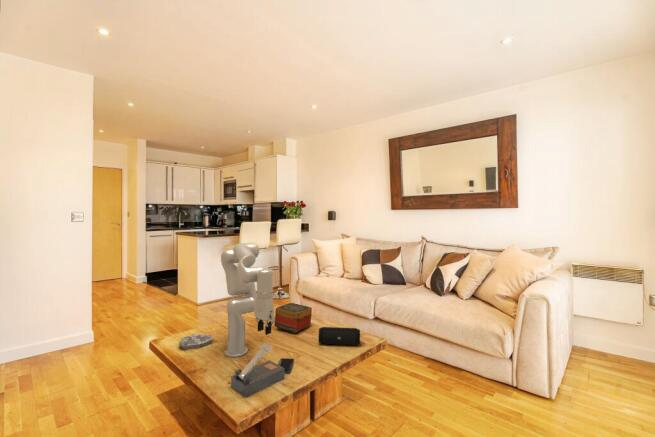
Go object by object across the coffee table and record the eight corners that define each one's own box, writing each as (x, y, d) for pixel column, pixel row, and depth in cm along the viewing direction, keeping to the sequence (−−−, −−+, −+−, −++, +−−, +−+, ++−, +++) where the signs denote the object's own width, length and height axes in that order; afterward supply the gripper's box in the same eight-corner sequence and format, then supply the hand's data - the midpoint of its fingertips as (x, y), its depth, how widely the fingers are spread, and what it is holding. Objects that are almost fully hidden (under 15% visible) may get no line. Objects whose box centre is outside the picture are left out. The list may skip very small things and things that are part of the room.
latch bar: (244, 381, 137) (242, 378, 137) (238, 377, 141) (236, 374, 140) (272, 347, 149) (270, 344, 148) (265, 344, 152) (264, 341, 151)
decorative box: (271, 330, 214) (271, 308, 212) (292, 319, 232) (292, 298, 230) (294, 339, 203) (294, 315, 201) (314, 326, 221) (314, 304, 219)
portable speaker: (318, 346, 188) (318, 330, 188) (319, 339, 198) (319, 324, 198) (360, 348, 186) (360, 331, 186) (359, 341, 196) (359, 325, 196)
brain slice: (205, 335, 202) (205, 331, 202) (216, 343, 190) (216, 339, 190) (173, 344, 188) (173, 339, 188) (183, 353, 176) (183, 348, 176)
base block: (245, 397, 134) (245, 379, 134) (231, 387, 142) (231, 369, 142) (284, 378, 150) (284, 362, 150) (269, 369, 158) (269, 354, 158)
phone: (275, 372, 155) (280, 358, 170) (275, 374, 155) (280, 360, 170) (290, 372, 155) (294, 358, 170) (290, 374, 155) (294, 360, 170)
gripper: (248, 293, 151) (247, 329, 151) (269, 299, 139) (268, 339, 140) (260, 290, 156) (260, 325, 157) (282, 296, 145) (281, 334, 145)
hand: (264, 331), depth 148 cm, fingers open, 5 cm apart
